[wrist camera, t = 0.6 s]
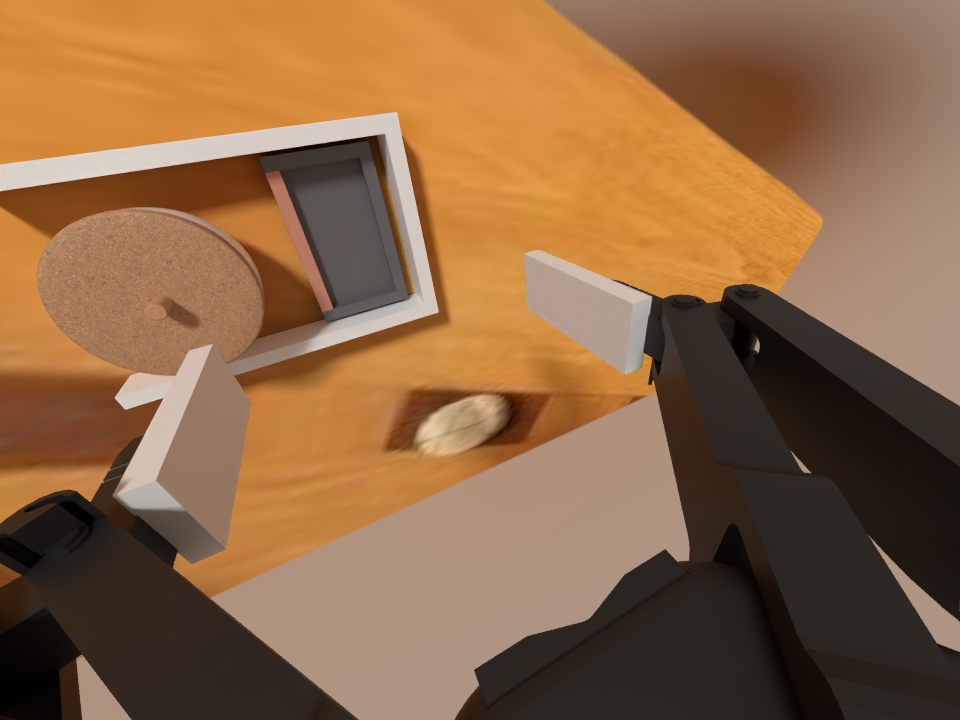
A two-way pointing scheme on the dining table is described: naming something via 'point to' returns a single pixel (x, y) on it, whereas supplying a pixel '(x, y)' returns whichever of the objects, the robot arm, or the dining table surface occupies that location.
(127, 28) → the dining table surface
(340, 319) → the channel
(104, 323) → the lidded jar
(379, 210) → the tray
